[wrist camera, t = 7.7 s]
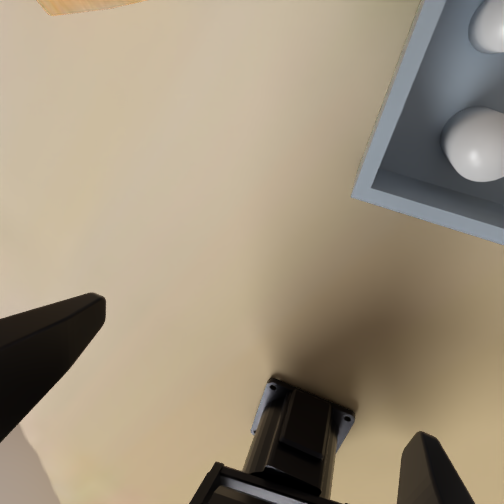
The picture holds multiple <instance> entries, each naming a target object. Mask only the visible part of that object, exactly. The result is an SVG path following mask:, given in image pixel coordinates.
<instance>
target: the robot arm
mask: <svg viewBox="0 0 504 504" xmlns="http://www.w3.org/2000/svg"><path fill="white" fill-rule="evenodd" d="M105 318H106V299H105V298H104V297H103V296H101V295H98V294H96V293H87V294H84V295H80V296H77V297H73V298H70V299H67V300H63V301H60V302H56V303H53V304H50V305H46V306H43V307H39V308H36V309H32V310H29V311H26V312H22V313H19V314H15V315H12V316H8V317H5V318H2V319H0V443H1V442H2V440H3V439H4V438H5V437H6V436H7V435H8V434H9V433H10V432H11V431H12V430H13V429H14V428H15V427H16V425H18V423H19V422H20V421H21V420H22V419H23V418H24V417H25V416H26V415H27V414H28V413H29V412H30V411H31V410H32V409H33V407H34V406H35V405H36V404H37V403H38V402H39V401H40V400H41V399H42V398H43V397H44V396H45V395H46V394H47V393H48V391H49V390H50V389H51V388H52V387H53V386H54V385H55V384H56V383H57V382H58V381H59V380H60V379H61V378H62V377H63V375H64V374H65V373H66V372H67V371H68V370H69V369H70V368H71V366H72V365H73V364H74V363H75V361H76V360H77V359H78V357H79V356H80V355H81V354H82V352H83V351H84V350H85V348H86V347H87V346H88V344H89V343H90V342H91V340H92V339H93V338H94V337H95V335H96V334H97V333H98V331H99V330H100V329H101V327H102V326H103V324H104V322H105ZM273 385H274V386H273ZM346 416H348V417H346ZM354 421H355V413H354V412H353V411H351V410H349V409H347V408H344V407H342V406H340V405H337V404H335V403H332V402H330V401H328V400H325V399H323V398H320V397H318V396H316V395H313V394H311V393H308V392H306V391H304V390H301V389H299V388H296V387H294V386H292V385H289V384H287V383H284V382H282V381H280V380H277V379H274V378H271V379H269V380H268V382H267V385H266V388H265V391H264V394H263V396H262V399H261V402H260V405H259V408H258V411H257V414H256V416H255V419H254V422H253V425H252V428H251V433H252V434H253V435H254V438H253V441H252V444H251V447H250V450H249V453H248V456H247V458H246V461H245V464H244V467H243V470H242V471H239V470H236V469H233V468H230V467H227V466H224V464H223V463H219V462H215V464H214V465H213V467H212V469H211V470H210V472H208V473H207V475H206V476H205V478H204V480H203V482H202V483H201V485H200V487H199V488H198V490H197V492H196V493H195V495H194V497H193V498H192V500H191V502H190V503H189V504H342V503H339V502H336V501H332V500H330V495H331V487H332V479H333V471H334V463H335V454H336V453H337V451H338V449H339V447H340V446H341V444H342V442H343V441H344V439H345V437H346V435H347V434H348V432H349V430H350V429H351V427H352V425H353V423H354ZM345 504H348V503H345ZM397 504H475V502H474V501H473V499H472V497H471V496H470V494H469V492H468V490H467V489H466V487H465V485H464V483H463V482H462V480H461V478H460V477H459V475H458V473H457V471H456V470H455V468H454V466H453V465H452V463H451V461H450V459H449V458H448V456H447V454H446V452H445V451H444V449H443V447H442V446H441V444H440V442H439V441H438V439H437V438H436V437H434V436H432V435H429V434H427V433H425V432H422V431H419V432H417V433H416V434H415V436H414V437H413V438H412V439H411V441H410V442H409V443H408V445H407V446H406V447H405V449H404V451H403V453H402V458H401V468H400V478H399V488H398V498H397Z"/></svg>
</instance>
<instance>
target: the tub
mask: <svg viewBox="0 0 504 504" xmlns="http://www.w3.org/2000/svg"><path fill="white" fill-rule="evenodd" d="M351 198H355V199H358V200H361V201H364V202H367V203H371V204H374V205H377V206H380V207H383V208H387V209H390V210H393V211H396V212H399V213H403V214H406V215H409V216H412V217H415V218H418V219H422V220H425V221H428V222H431V223H434V224H438V225H441V226H444V227H447V228H450V229H454V230H457V231H460V232H463V233H466V234H470V235H473V236H476V237H479V238H482V239H485V240H489V241H492V242H495V243H498V244H501V245H504V0H421V2H420V4H419V7H418V10H417V12H416V15H415V18H414V20H413V23H412V26H411V29H410V31H409V34H408V37H407V39H406V42H405V45H404V47H403V50H402V53H401V55H400V58H399V61H398V63H397V66H396V69H395V71H394V74H393V77H392V79H391V82H390V85H389V88H388V90H387V93H386V96H385V98H384V101H383V104H382V106H381V109H380V112H379V114H378V117H377V120H376V122H375V125H374V128H373V130H372V133H371V136H370V138H369V141H368V144H367V146H366V149H365V152H364V155H363V157H362V160H361V163H360V165H359V168H358V171H357V174H356V178H355V182H354V186H353V190H352V194H351Z"/></svg>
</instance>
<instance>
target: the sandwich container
mask: <svg viewBox="0 0 504 504" xmlns="http://www.w3.org/2000/svg"><path fill="white" fill-rule="evenodd" d="M37 1H38V3H39V4H40V5H41V6H42V8H43V9H44V10H45V11H46V12H47V14H48V15H50V16H56V15H64V14H72V13H81V12H89V11H97V10H105V9H112V8H116V7H120V6H125V5H129V4H133V3H137V2H142V1H146V0H37Z"/></svg>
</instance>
